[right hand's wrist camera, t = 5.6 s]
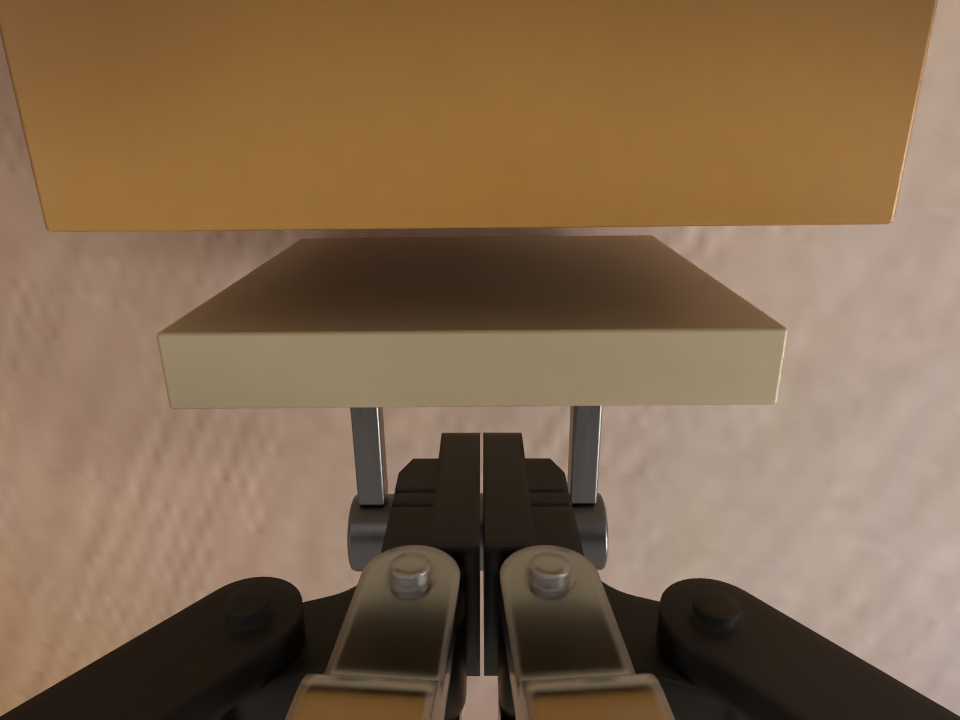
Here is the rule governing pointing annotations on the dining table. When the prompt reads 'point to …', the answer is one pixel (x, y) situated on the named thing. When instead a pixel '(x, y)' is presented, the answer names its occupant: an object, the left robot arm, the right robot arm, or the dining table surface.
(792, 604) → the dining table surface
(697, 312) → the drawer
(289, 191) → the cabinet
